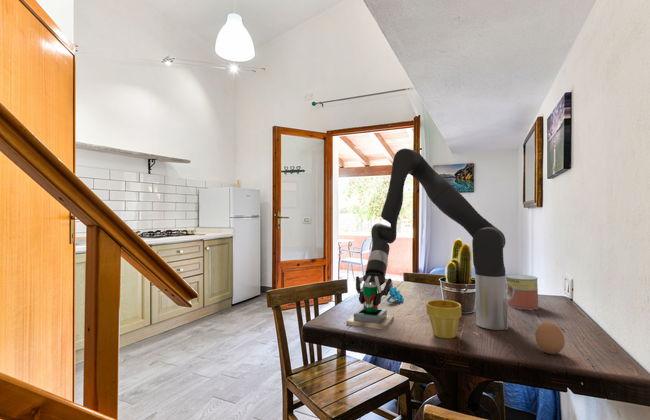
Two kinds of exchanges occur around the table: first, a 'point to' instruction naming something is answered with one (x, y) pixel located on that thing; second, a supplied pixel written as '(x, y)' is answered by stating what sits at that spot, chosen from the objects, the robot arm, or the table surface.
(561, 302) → the table surface
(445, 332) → the plant pot
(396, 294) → the blue knobbly figurine
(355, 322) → the board
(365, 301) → the soda can
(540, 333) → the egg
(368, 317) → the collar
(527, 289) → the canned food
